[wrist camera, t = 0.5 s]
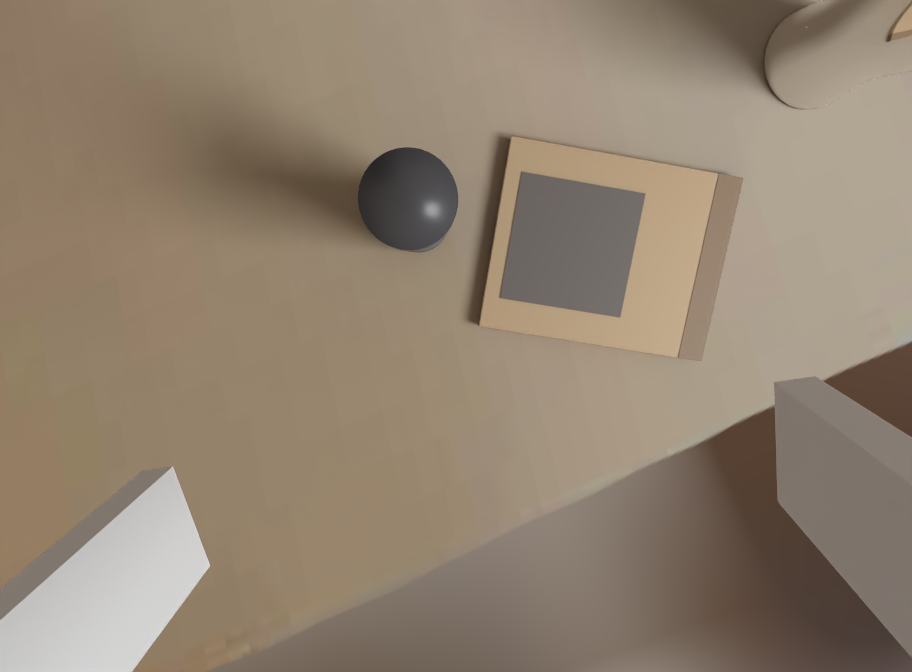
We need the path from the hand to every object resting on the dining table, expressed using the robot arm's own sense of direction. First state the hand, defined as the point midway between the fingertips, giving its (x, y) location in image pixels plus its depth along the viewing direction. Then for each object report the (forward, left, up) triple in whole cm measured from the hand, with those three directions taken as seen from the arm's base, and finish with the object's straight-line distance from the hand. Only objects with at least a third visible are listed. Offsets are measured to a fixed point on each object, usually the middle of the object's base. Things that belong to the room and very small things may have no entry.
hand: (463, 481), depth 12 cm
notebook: (-7, +10, -24) cm, 27 cm away
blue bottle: (-7, -3, -24) cm, 25 cm away
